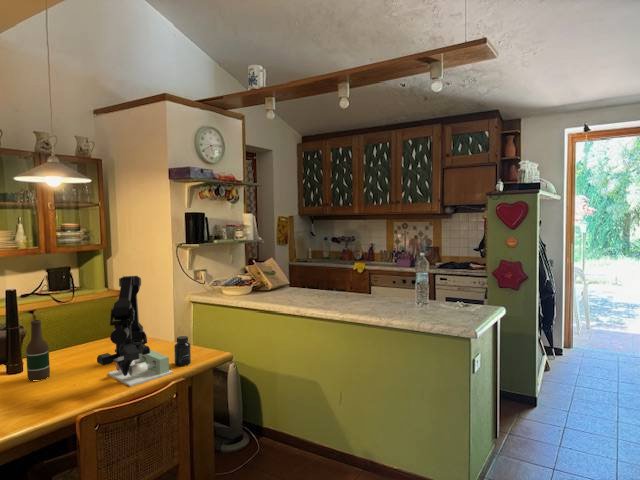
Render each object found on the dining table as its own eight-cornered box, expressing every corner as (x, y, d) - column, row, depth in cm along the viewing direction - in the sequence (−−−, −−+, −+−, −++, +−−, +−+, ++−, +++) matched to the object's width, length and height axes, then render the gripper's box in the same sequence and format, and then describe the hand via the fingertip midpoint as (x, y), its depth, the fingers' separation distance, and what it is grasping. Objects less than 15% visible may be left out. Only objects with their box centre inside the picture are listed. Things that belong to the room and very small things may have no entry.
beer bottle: (54, 375, 181) (51, 318, 179) (37, 382, 173) (33, 323, 172) (40, 373, 183) (37, 317, 182) (22, 380, 176) (19, 322, 174)
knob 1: (144, 362, 190) (143, 353, 189) (148, 364, 187) (148, 355, 187) (115, 370, 180) (114, 361, 180) (119, 373, 178) (119, 363, 177)
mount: (107, 374, 182) (107, 358, 181) (149, 362, 195) (148, 347, 195) (130, 386, 168) (129, 369, 168) (172, 373, 182) (172, 357, 181)
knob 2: (156, 366, 184) (156, 357, 184) (161, 368, 182) (161, 359, 181) (127, 375, 175) (127, 365, 175) (132, 377, 172) (132, 367, 172)
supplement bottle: (186, 367, 189) (185, 339, 188) (171, 366, 191) (170, 339, 190) (193, 361, 196) (192, 335, 195) (179, 360, 197) (179, 334, 196)
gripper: (107, 346, 159) (109, 388, 160) (156, 335, 173) (157, 373, 174) (95, 340, 166) (97, 380, 168) (142, 330, 180) (144, 367, 181)
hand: (125, 375), depth 172 cm, fingers closed
